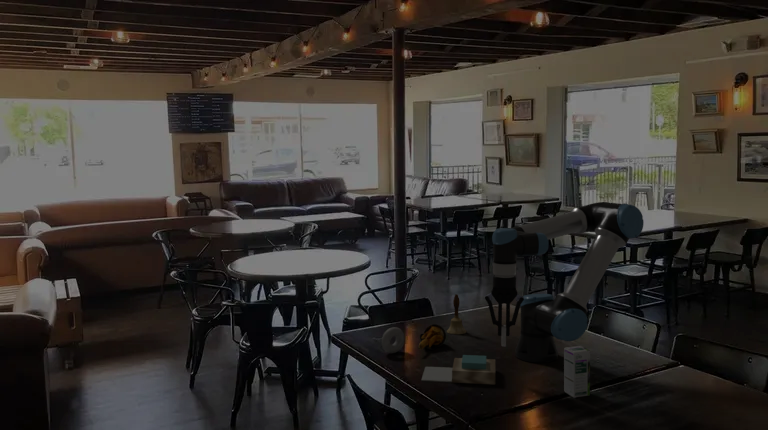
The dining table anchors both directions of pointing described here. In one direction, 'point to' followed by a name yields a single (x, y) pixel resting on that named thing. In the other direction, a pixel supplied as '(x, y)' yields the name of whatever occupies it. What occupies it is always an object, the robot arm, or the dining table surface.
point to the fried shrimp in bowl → (432, 337)
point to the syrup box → (577, 371)
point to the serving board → (473, 373)
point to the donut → (387, 340)
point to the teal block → (473, 362)
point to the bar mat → (437, 374)
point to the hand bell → (456, 320)
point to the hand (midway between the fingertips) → (503, 345)
